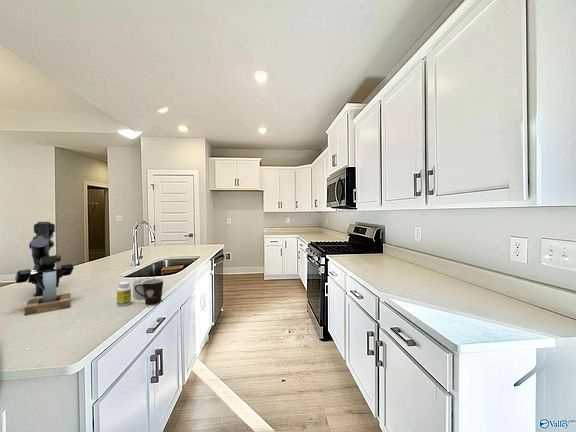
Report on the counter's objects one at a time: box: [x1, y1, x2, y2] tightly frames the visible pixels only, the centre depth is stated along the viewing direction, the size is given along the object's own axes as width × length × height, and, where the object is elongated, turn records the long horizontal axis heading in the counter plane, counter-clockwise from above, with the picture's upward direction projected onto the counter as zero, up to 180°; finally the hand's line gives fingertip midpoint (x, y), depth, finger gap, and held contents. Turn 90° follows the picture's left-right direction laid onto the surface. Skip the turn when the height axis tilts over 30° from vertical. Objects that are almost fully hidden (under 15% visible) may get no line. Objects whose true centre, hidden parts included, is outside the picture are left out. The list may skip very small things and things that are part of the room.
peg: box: [42, 271, 57, 303], centre depth 114 cm, size 4×4×14 cm
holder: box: [24, 293, 71, 316], centre depth 114 cm, size 14×14×3 cm
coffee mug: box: [135, 278, 164, 306], centre depth 120 cm, size 12×9×10 cm
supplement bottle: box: [116, 281, 132, 307], centre depth 117 cm, size 5×5×10 cm
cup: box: [132, 276, 157, 301], centre depth 131 cm, size 10×13×9 cm
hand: (50, 288), depth 113 cm, fingers closed on peg, 4 cm apart
